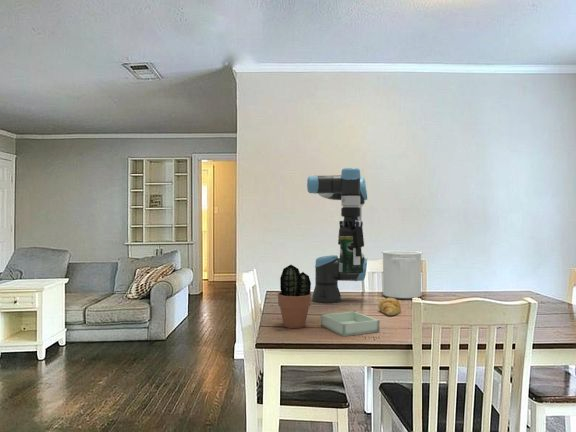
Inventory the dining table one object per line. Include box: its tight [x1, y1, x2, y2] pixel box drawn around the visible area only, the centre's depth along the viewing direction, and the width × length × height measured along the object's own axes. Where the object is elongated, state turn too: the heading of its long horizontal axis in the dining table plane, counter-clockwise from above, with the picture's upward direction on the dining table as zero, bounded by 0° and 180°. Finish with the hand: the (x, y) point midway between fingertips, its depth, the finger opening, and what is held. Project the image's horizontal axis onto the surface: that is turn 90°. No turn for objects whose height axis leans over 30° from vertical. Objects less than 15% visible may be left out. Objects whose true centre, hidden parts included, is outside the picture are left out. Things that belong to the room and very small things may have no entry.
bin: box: [320, 311, 380, 337], centre depth 187 cm, size 18×16×4 cm
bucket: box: [381, 249, 423, 301], centre depth 257 cm, size 26×22×24 cm
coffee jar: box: [337, 227, 363, 274], centre depth 188 cm, size 10×8×19 cm
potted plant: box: [277, 264, 312, 329], centre depth 192 cm, size 14×14×25 cm
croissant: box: [377, 297, 402, 316], centre depth 218 cm, size 21×10×8 cm, turn 169°
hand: (350, 263), depth 188 cm, fingers closed on coffee jar, 8 cm apart
